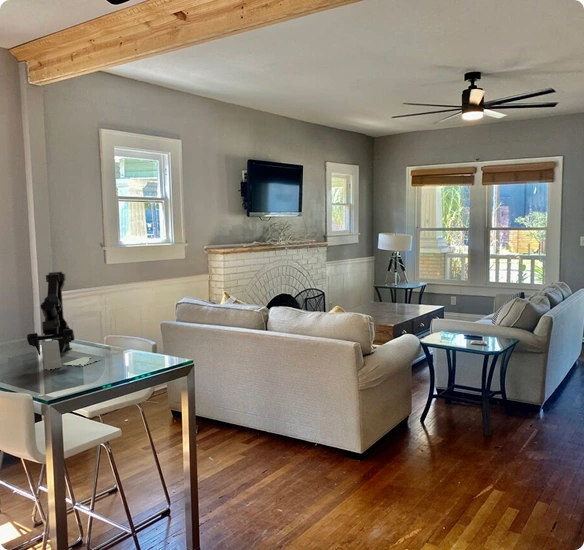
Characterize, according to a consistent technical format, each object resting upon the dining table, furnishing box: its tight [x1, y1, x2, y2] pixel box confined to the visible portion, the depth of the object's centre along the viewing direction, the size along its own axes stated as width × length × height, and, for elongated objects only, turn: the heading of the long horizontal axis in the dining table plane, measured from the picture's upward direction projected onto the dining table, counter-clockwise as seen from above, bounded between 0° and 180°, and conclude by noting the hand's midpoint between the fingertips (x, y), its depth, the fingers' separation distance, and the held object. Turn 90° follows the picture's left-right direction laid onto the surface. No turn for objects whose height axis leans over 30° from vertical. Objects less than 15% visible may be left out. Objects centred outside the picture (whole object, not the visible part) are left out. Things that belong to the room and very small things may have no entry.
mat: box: [62, 356, 90, 367], centre depth 246 cm, size 12×12×1 cm
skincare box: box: [40, 339, 63, 371], centre depth 238 cm, size 6×4×12 cm
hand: (50, 353), depth 237 cm, fingers open, 9 cm apart
